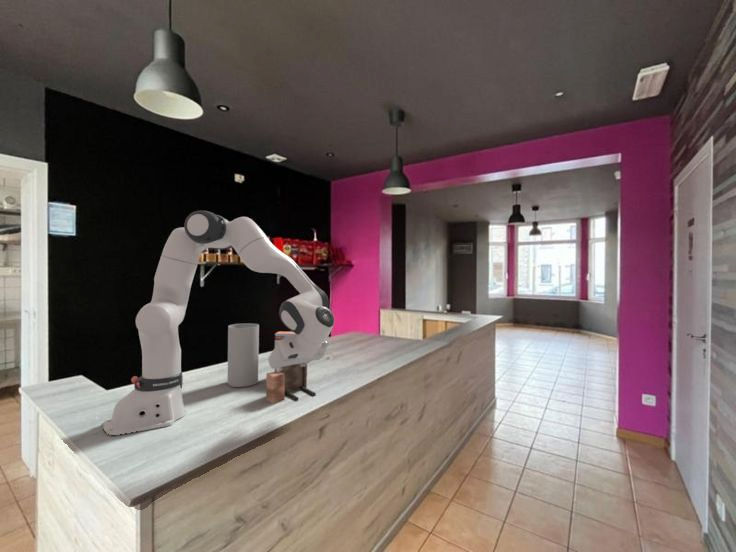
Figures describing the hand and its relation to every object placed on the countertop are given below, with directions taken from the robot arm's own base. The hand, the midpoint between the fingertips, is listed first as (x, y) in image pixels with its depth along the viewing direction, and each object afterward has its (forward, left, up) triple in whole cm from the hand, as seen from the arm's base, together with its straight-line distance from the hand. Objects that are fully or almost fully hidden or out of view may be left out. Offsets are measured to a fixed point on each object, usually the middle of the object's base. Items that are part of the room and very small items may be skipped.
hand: (290, 367), depth 122 cm
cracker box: (+18, +31, -15) cm, 39 cm away
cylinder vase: (-2, +37, -15) cm, 40 cm away
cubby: (+10, +11, -15) cm, 21 cm away
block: (0, +11, -15) cm, 19 cm away
